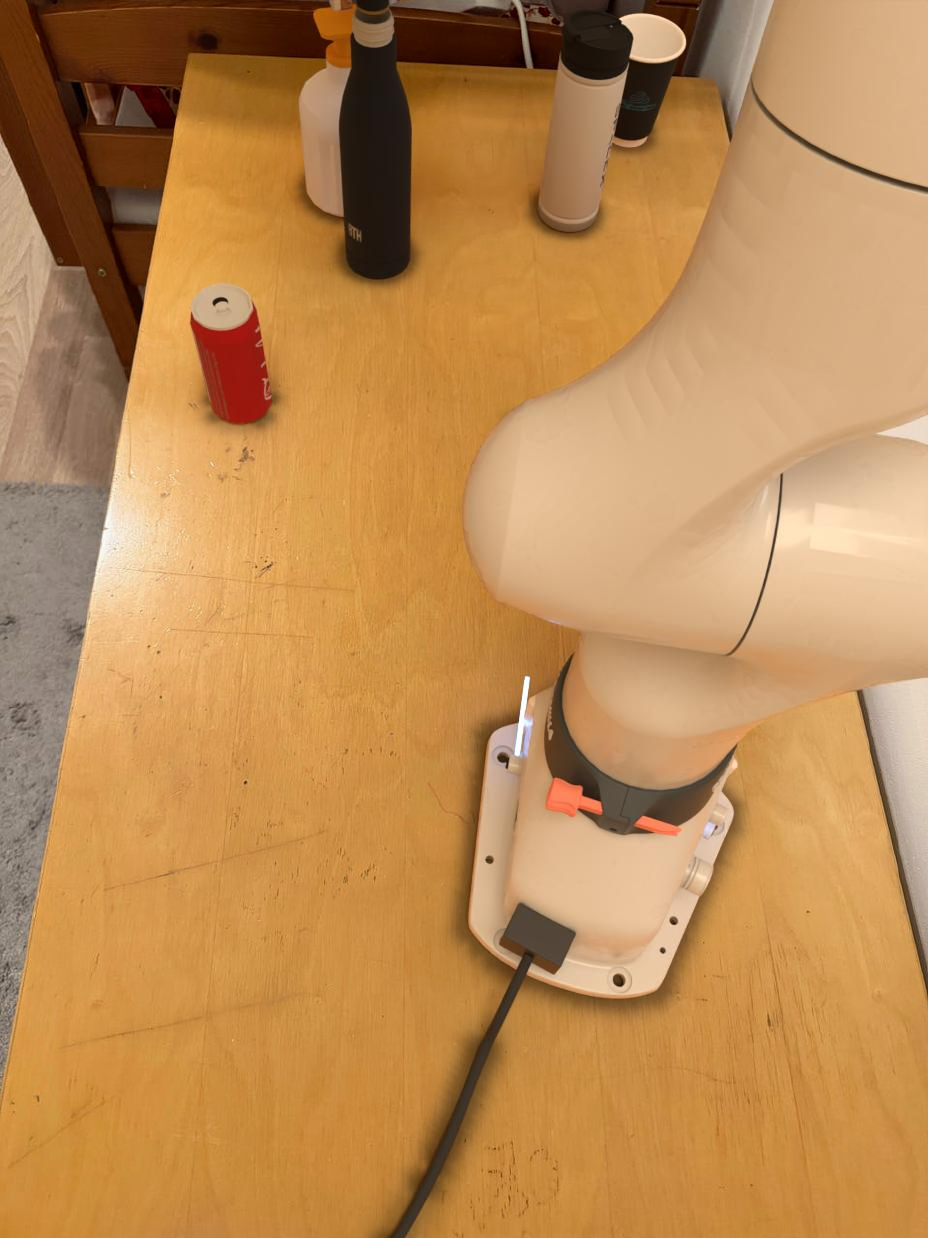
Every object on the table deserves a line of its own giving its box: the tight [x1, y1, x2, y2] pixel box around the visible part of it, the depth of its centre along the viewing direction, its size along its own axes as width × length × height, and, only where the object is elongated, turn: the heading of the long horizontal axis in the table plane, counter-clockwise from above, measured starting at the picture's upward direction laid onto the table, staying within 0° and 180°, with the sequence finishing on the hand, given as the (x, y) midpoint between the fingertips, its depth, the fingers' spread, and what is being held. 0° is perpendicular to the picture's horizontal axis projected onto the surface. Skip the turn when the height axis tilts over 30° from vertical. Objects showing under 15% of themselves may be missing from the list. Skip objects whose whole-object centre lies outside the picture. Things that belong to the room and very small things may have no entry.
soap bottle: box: [298, 3, 357, 218], centre depth 94 cm, size 9×9×25 cm
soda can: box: [189, 282, 273, 424], centre depth 86 cm, size 6×6×12 cm
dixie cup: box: [612, 13, 687, 148], centre depth 107 cm, size 8×8×11 cm
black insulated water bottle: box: [339, 0, 413, 280], centre depth 87 cm, size 6×6×30 cm
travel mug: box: [537, 9, 634, 233], centre depth 96 cm, size 6×7×20 cm
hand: (372, 1), depth 79 cm, fingers closed on black insulated water bottle, 4 cm apart
